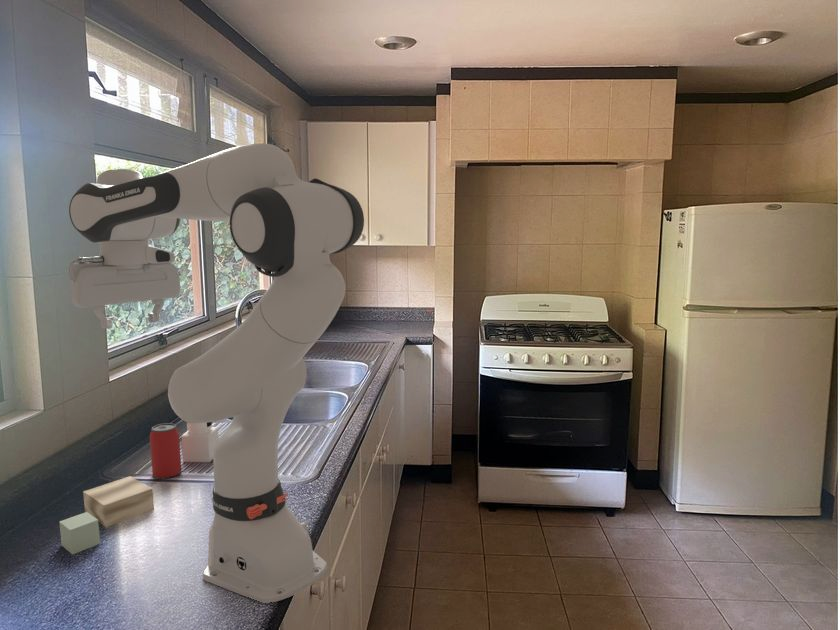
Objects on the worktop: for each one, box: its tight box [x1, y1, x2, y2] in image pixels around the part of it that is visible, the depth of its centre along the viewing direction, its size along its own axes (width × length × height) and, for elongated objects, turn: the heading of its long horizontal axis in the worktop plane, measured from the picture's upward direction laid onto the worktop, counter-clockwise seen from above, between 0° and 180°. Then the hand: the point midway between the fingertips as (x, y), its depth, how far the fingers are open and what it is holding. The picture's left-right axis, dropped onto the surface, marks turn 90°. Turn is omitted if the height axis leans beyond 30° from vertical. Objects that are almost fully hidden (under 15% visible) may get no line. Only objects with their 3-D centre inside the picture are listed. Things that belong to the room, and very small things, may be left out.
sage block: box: [58, 511, 101, 555], centre depth 117 cm, size 5×5×5 cm
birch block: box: [82, 475, 155, 528], centre depth 131 cm, size 10×10×5 cm
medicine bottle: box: [180, 422, 220, 463], centre depth 159 cm, size 7×7×12 cm
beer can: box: [149, 422, 182, 480], centre depth 148 cm, size 7×7×12 cm
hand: (131, 324), depth 122 cm, fingers open, 8 cm apart
